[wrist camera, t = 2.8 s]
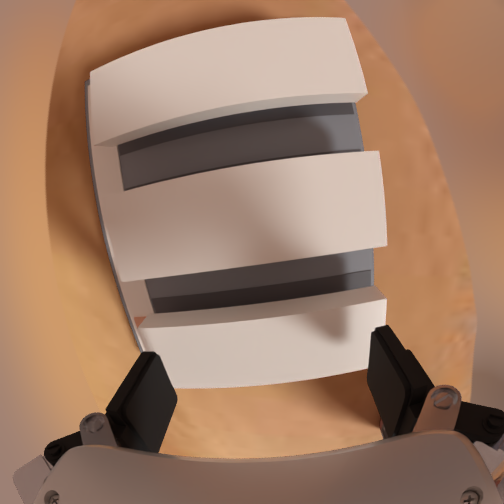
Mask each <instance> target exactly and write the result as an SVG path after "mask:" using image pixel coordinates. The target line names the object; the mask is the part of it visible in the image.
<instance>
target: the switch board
mask: <svg viewBox="0 0 504 504" xmlns="http://www.w3.org/2000/svg"><path fill="white" fill-rule="evenodd" d="M85 110H86V127H87V139H88V149H89V158H90V166H91V173H92V180H93V186H94V192H95V198H96V203H97V208H98V213H99V218H100V223H101V227H102V232H103V236H104V240H105V244H106V248H107V252H108V256H109V260H110V264H111V267H112V271H113V274H114V278H115V281H116V284H117V287H118V291H119V294H120V297H121V300H122V303H123V306H124V309H125V312H126V315H127V317H128V320H129V323H130V326H131V328H132V331H133V334H134V336H135V339H136V341H137V344H138V346H139V349H140V351H141V353H142V352H143V351H145V348H144V346H143V343H142V340H141V338H140V335H139V333H138V330H137V328H138V327H139V325H140V324H141V323H142V322H143V320H144V319H145V318H146V317H147V315H148V314H156V313H170V312H182V311H194V310H204V309H215V308H224V307H233V306H242V305H251V304H259V303H267V302H275V301H282V300H289V299H296V298H303V297H310V296H317V295H323V294H329V293H335V292H341V291H347V290H353V289H359V288H364V287H370V286H374V254H373V248H369V249H363V250H356V251H350V252H343V253H336V254H329V255H323V256H316V257H309V258H302V259H295V260H288V261H281V262H273V263H266V264H259V265H252V266H244V267H237V268H229V269H222V270H214V271H207V272H199V273H191V274H183V275H176V276H168V277H160V278H151V279H143V280H135V281H127V282H121V279H120V275H119V272H118V268H117V265H116V261H115V257H114V253H113V249H112V245H111V241H110V237H109V233H108V228H107V224H106V219H105V214H104V209H103V204H102V199H101V198H103V197H106V196H109V195H113V194H116V193H120V192H123V191H127V190H131V189H135V188H138V187H142V186H146V185H150V184H154V183H158V182H162V181H166V180H171V179H175V178H180V177H184V176H189V175H193V174H198V173H203V172H208V171H213V170H219V169H224V168H230V167H235V166H241V165H247V164H253V163H260V162H267V161H274V160H281V159H289V158H297V157H306V156H315V155H325V154H336V153H349V152H364V147H363V141H362V135H361V130H360V124H359V119H358V114H357V109H356V104H355V102H349V103H324V104H310V105H298V106H288V107H279V108H271V109H264V110H257V111H251V112H244V113H239V114H233V115H228V116H222V117H217V118H213V119H208V120H203V121H199V122H195V123H190V124H186V125H182V126H178V127H175V128H171V129H167V130H164V131H160V132H157V133H153V134H150V135H147V136H143V137H140V138H137V139H134V140H131V141H128V142H125V143H122V144H119V145H116V146H114V147H104V146H96V145H94V143H93V133H92V120H91V101H90V79H89V80H87V81H85Z"/></svg>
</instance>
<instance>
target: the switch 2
mask: <svg viewBox="0 0 504 504" xmlns="http://www.w3.org/2000/svg"><path fill="white" fill-rule="evenodd" d="M386 303H387V298H386V297H385V296H384V295H383V294H382V293H381V292H380V291H379V289H378V288H377V287H376V286H370V287H364V288H359V289H353V290H347V291H341V292H335V293H329V294H323V295H317V296H310V297H303V298H296V299H289V300H282V301H275V302H267V303H259V304H251V305H242V306H233V307H224V308H215V309H204V310H194V311H182V312H170V313H156V314H148V315H147V317H146V318H145V319H144V320H143V322H142V323H141V324H140V325H139V327H138V328H137V330H138V333H139V335H140V338H141V340H142V343H143V346H144V348H145V351H154V352H156V354H158V355H160V357H161V360H162V362H163V365H164V367H165V369H166V372H167V374H168V377H169V379H170V381H171V383H172V386H173V388H228V387H245V386H258V385H269V384H279V383H287V382H295V381H302V380H309V379H316V378H322V377H328V376H333V375H339V374H344V373H349V372H353V371H358V370H363V369H367V368H368V363H369V352H370V339H371V332H372V331H375V328H376V327H380V326H384V325H385V320H386Z"/></svg>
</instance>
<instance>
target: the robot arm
mask: <svg viewBox="0 0 504 504" xmlns="http://www.w3.org/2000/svg"><path fill="white" fill-rule="evenodd" d="M367 383H368V386H369V388H370V391H371V393H372V396H373V398H374V401H375V403H376V406H377V409H378V411H379V414H380V416H381V419H382V422H383V424H384V427H385V430H386V432H387V435H388V438H387V439H383V440H379V441H375V442H371V443H367V444H362V445H357V446H353V447H348V448H342V449H337V450H332V451H326V452H319V453H312V454H304V455H296V456H285V457H272V458H249V459H224V458H200V457H187V456H177V455H168V454H161V453H158V452H159V450H160V447H161V444H162V441H163V439H164V436H165V433H166V431H167V428H168V425H169V422H170V420H171V417H172V414H173V412H174V409H175V406H176V404H177V395H176V392H175V390H174V388H173V386H172V383H171V381H170V379H169V377H168V374H167V372H166V369H165V367H164V365H163V362H162V360H161V357H160V355H158V354H156V352H154V351H143V352H142V353H141V354H140V356H139V357H138V359H137V360H136V362H135V364H134V365H133V367H132V368H131V370H130V371H129V373H128V374H127V376H126V378H125V379H124V381H123V382H122V384H121V385H120V387H119V389H118V390H117V392H116V393H115V395H114V397H113V398H112V400H111V401H110V403H109V405H108V406H107V408H106V411H107V412H106V414H105V415H104V414H103V413H91V414H89V415H87V416H86V417H85V418H83V419H82V421H81V423H80V431H78V432H76V433H73V434H71V435H68V436H65V437H63V438H60V439H57V440H55V441H53V442H50V443H49V444H48V445H47V447H46V448H45V451H44V456H42V455H39V456H38V457H36V458H35V459H33V460H32V461H30V462H29V463H27V464H25V465H24V466H22V467H21V468H19V469H18V470H17V471H16V472H15V473H14V475H13V481H14V484H15V486H16V488H17V490H18V493H19V495H20V497H21V499H22V500H23V502H24V504H504V412H503V411H502V410H499V409H496V408H491V407H486V406H481V405H476V404H472V403H468V402H463V401H461V394H460V392H459V391H458V390H457V389H456V388H454V387H453V386H449V385H439V386H436V387H435V386H434V385H433V383H432V382H431V380H430V378H429V377H428V375H427V374H426V372H425V371H424V369H423V368H422V366H421V365H420V363H419V362H418V361H417V359H416V358H415V356H414V355H413V353H412V352H411V351H410V350H408V349H407V350H405V348H404V347H403V345H402V344H401V342H400V341H399V339H398V338H397V337H396V335H395V334H394V332H393V331H392V329H391V328H390V327H389V325H384V326H380V327H376V328H375V331H372V332H371V339H370V352H369V363H368V372H367Z"/></svg>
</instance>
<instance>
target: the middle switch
mask: <svg viewBox="0 0 504 504" xmlns="http://www.w3.org/2000/svg"><path fill="white" fill-rule="evenodd" d="M101 199H102V204H103V209H104V214H105V219H106V224H107V228H108V233H109V237H110V241H111V245H112V249H113V253H114V257H115V261H116V265H117V268H118V272H119V275H120V279H121V282H127V281H135V280H143V279H151V278H160V277H168V276H176V275H183V274H191V273H199V272H207V271H214V270H222V269H229V268H237V267H244V266H252V265H259V264H266V263H273V262H281V261H288V260H295V259H302V258H309V257H316V256H323V255H329V254H336V253H343V252H350V251H356V250H363V249H369V248H376V247H382V246H387V228H386V211H385V199H384V188H383V178H382V170H381V162H380V155H379V151H365V152H349V153H336V154H325V155H315V156H306V157H297V158H289V159H281V160H274V161H267V162H260V163H253V164H247V165H241V166H235V167H230V168H224V169H219V170H213V171H208V172H203V173H198V174H193V175H189V176H184V177H180V178H175V179H171V180H166V181H162V182H158V183H154V184H150V185H146V186H142V187H138V188H135V189H131V190H127V191H123V192H120V193H116V194H113V195H109V196H106V197H103V198H101Z"/></svg>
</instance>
